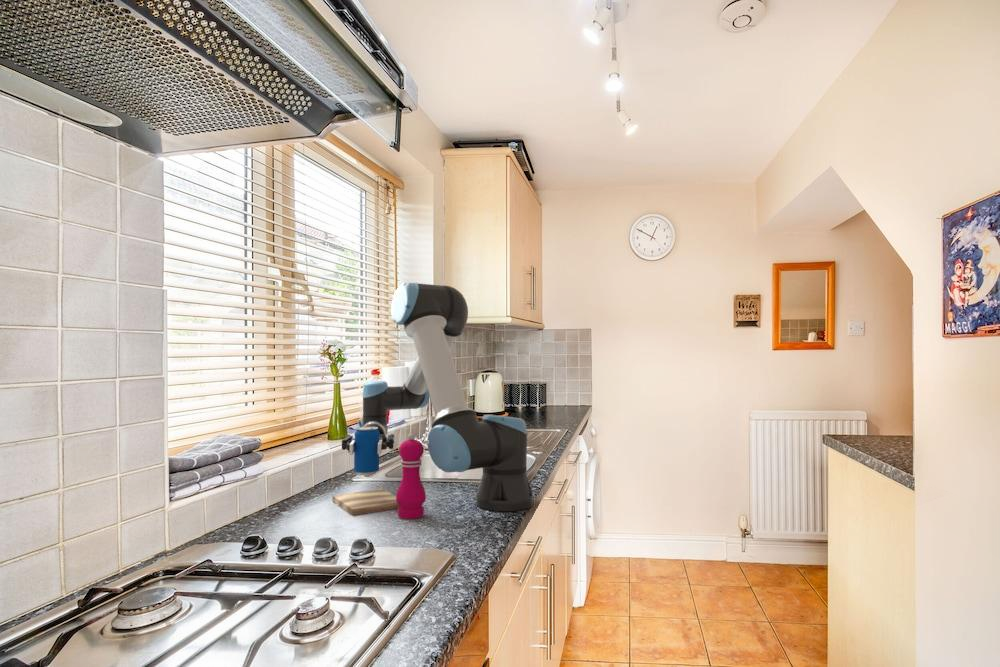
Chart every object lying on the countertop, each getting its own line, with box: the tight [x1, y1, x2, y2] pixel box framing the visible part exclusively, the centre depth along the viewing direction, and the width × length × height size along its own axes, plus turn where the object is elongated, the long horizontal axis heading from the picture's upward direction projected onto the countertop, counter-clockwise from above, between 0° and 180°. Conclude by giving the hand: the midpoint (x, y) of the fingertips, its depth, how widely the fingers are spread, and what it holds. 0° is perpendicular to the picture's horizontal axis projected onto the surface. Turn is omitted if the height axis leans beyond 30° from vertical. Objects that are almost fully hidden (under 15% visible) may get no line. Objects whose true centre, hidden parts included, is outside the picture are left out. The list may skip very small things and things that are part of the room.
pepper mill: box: [395, 433, 427, 520], centre depth 137 cm, size 7×7×20 cm
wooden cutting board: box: [332, 488, 400, 516], centre depth 147 cm, size 16×14×2 cm
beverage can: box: [353, 426, 380, 476], centre depth 149 cm, size 6×6×12 cm
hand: (365, 449), depth 144 cm, fingers closed on beverage can, 6 cm apart
